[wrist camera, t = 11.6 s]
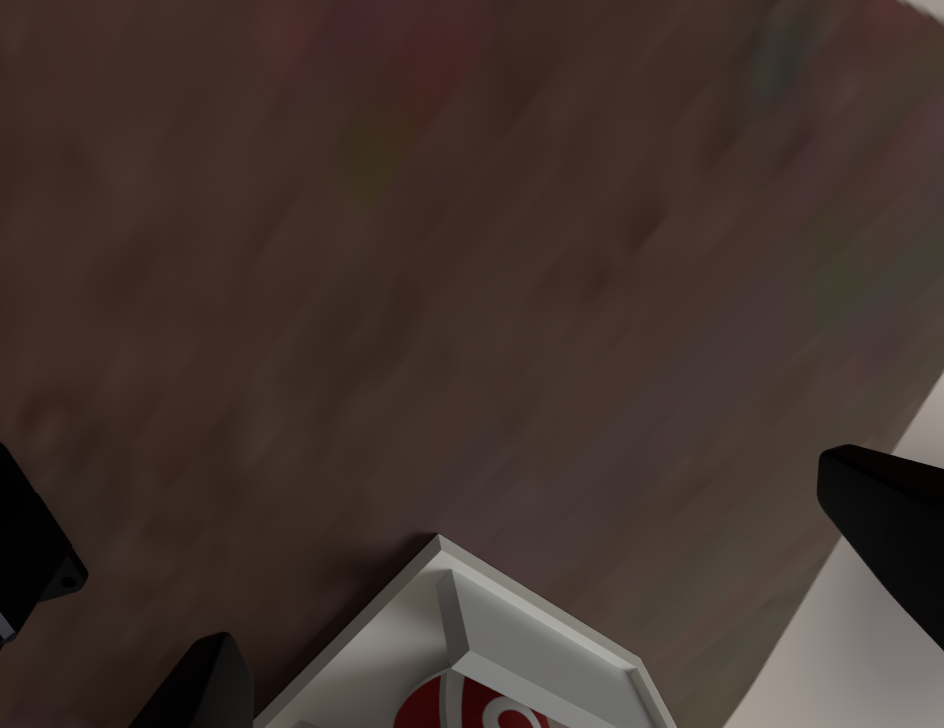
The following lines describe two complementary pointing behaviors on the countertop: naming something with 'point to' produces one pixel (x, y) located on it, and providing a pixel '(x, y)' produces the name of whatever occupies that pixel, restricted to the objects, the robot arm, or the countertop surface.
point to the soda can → (462, 705)
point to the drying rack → (467, 654)
